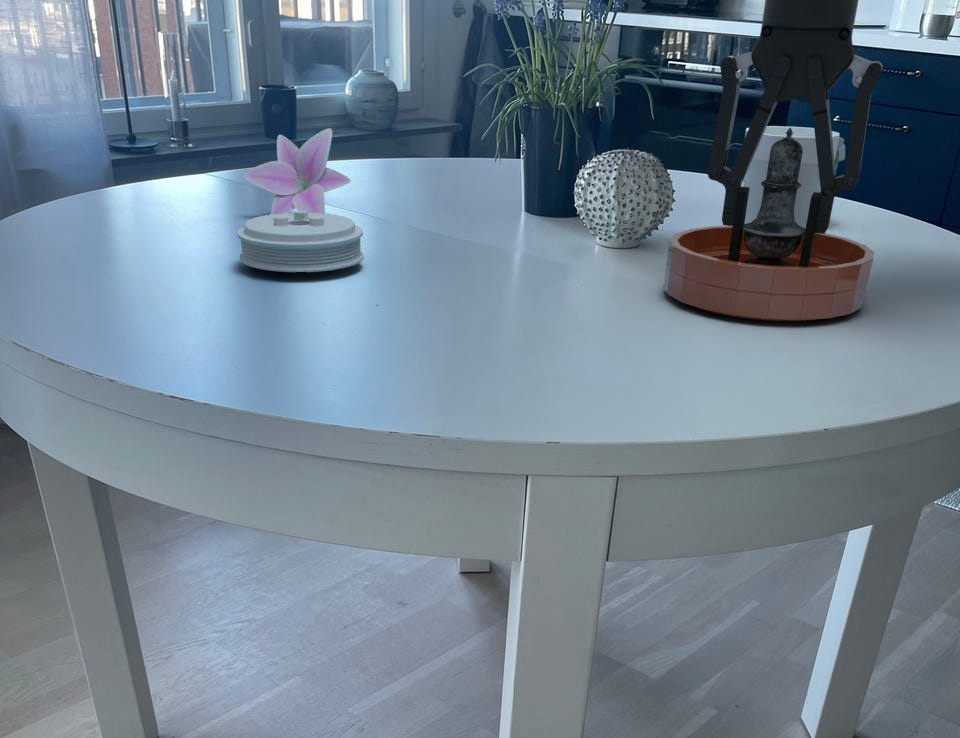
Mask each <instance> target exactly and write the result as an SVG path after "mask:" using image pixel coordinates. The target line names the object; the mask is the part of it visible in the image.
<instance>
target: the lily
mask: <svg viewBox="0 0 960 738" xmlns="http://www.w3.org/2000/svg"><path fill="white" fill-rule="evenodd" d="M332 139H333V129H332V128H331V127H330V128H325V129H323V130H321V131H319V132H318V133H316V134H315V135H313V136H312V137H310V138H309V139H307V140H306V141H305V142H304V143H303V144H302V145H301V146H300V148H298V146H297V145H296V144H295V143H293V141H291V140H290V139H289V138H287V137H286V136H284V135H283V134H278V135H277V138H276V157H277V160H273V161H268V162H264V163H261V164H259V165H257V166H255V167H252V168H250V169H249V170H247V171H245V172H244V174H243V175H242V176H243V178H244V179H245V180H246V181H247V182H249V183H251V184H253V185H254V186H257V187H259V188H261V189H263V190H265V191H267V192H268V193H269V192H270V193H272V194H274V196H273V197H274V198H273V200H272V205H271V209H270V215H272V214H282V213H292V211H294V209H296V211H307V212H308V213H322V214H326V206H325V205H326V204H325V203H326V202H325V201H326V199H325V193H327V192H331V191H333V190H336V189H338V188H339V189H340V188H342V187H344V186H346V185H348V184H351V182H352V180H351V179H350V178H349V177H348V176H347V175H345V174H343V173H342V172H340V171H337V170H335V169H333V168H330V167H327V164H328V161H329V156H330V155H329V154H330V150H331V145H332V141H333V140H332Z"/></svg>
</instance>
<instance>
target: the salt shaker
mask: <svg viewBox="0 0 960 738" xmlns="http://www.w3.org/2000/svg"><path fill="white" fill-rule="evenodd" d="M786 134H787V136H786V138H783V139H782V140H780V141H777V142H776V143H774V144H773V146H772V147H771V151H770V157H769V163H768V170H767V176H766V180H764V181H763V182H761V185H762V186H763V187H764V190H763V197H762V203H761V207H760V210H759V213H758V215H757V218H756V219H755V220H753V221H752V222H751V223H747V224H744V225H743V226H742V230H743V231H745V233H744V241H745V246H746V248H747V249H748V251H749V252H750V253H751V254H753V255H755V256H757V258H750V259H747V260H745V261H744V262H742V263H748V264H758V265H768V266H788V267H795V266H793V265H792V263H790V262H788V261H785V260H781V259H780V258H784V257H787V256H790V255H791V254H792V253H793V252H794V251H795V250H796V249H797V248H798V246H799V244H800V242H801V238H802V235H804V234H805V228H803V227H801V226H799V225H798V224H797V223H796V222H795V219H794V205H795V199H796V193H797V189H798V188H800V187H801V184H800V183H799V182H798V176H799V170H800V164H801V158H802V153H803V149H802V146H801V144H800V143H798V142H797V141H795V140H794V138H792V137H791V135H792V134H793V132H792V130H791V128H789V129H788V130H787V132H786Z"/></svg>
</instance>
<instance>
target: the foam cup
mask: <svg viewBox="0 0 960 738" xmlns="http://www.w3.org/2000/svg"><path fill="white" fill-rule="evenodd" d="M789 128H791V130H792V132H793V134H792V135H791V137H792V138H794V140H795V141H797V142H798V143H800V144H801V146H802V149H803V153H802V158H801V164H800V170H799V176H798V182H799V183H800V184H801V187H800V188H798V189H797V193H796V199H795V205H794V219H795V222H796V223H797V224H798V225H799V226H801V227H803V228H805V229H806V223H807V218H808V212H809V206H810V201H811V196H812V194H813V192H821V188H820V178H819V169H818V159H817V150H816V140H815V131H814V127H802V126H782V125H781V126H780V125H767V127H766V129H765V131H764V133H763V136H762V138H761V140H760V143H759V145H758V147H757V149H756V152H755V154H754V156H753V158H752V161H751V163H750V165H749V168H748V170H747V172H746V174H745V177H744V179H743V182H742V187H750V190H749V196H748V203H747V210H746V216H745V223H744V224H747V223H751V222H752V221H753V220H755V219H756V218H757V215H758V213H759V210H760V207H761V203H762V197H763V190H764V187H763V186H762V185H761V182H763V181H764V180H766V176H767V170H768V163H769V157H770V151H771V147H772V146H773V144H774V143H776V142H777V141H780V140H782V139H783V138H786V136H787V134H786V132H787V130H788V129H789ZM748 130H749V127H746V129H745V135H744V138H745V137H746V134H747V132H748ZM831 131H832V130H831ZM840 136H841V135H840V132H837V131H832V141H833V151H834V161H835V157H836V151H837V146H838V141H839V137H840Z"/></svg>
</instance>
